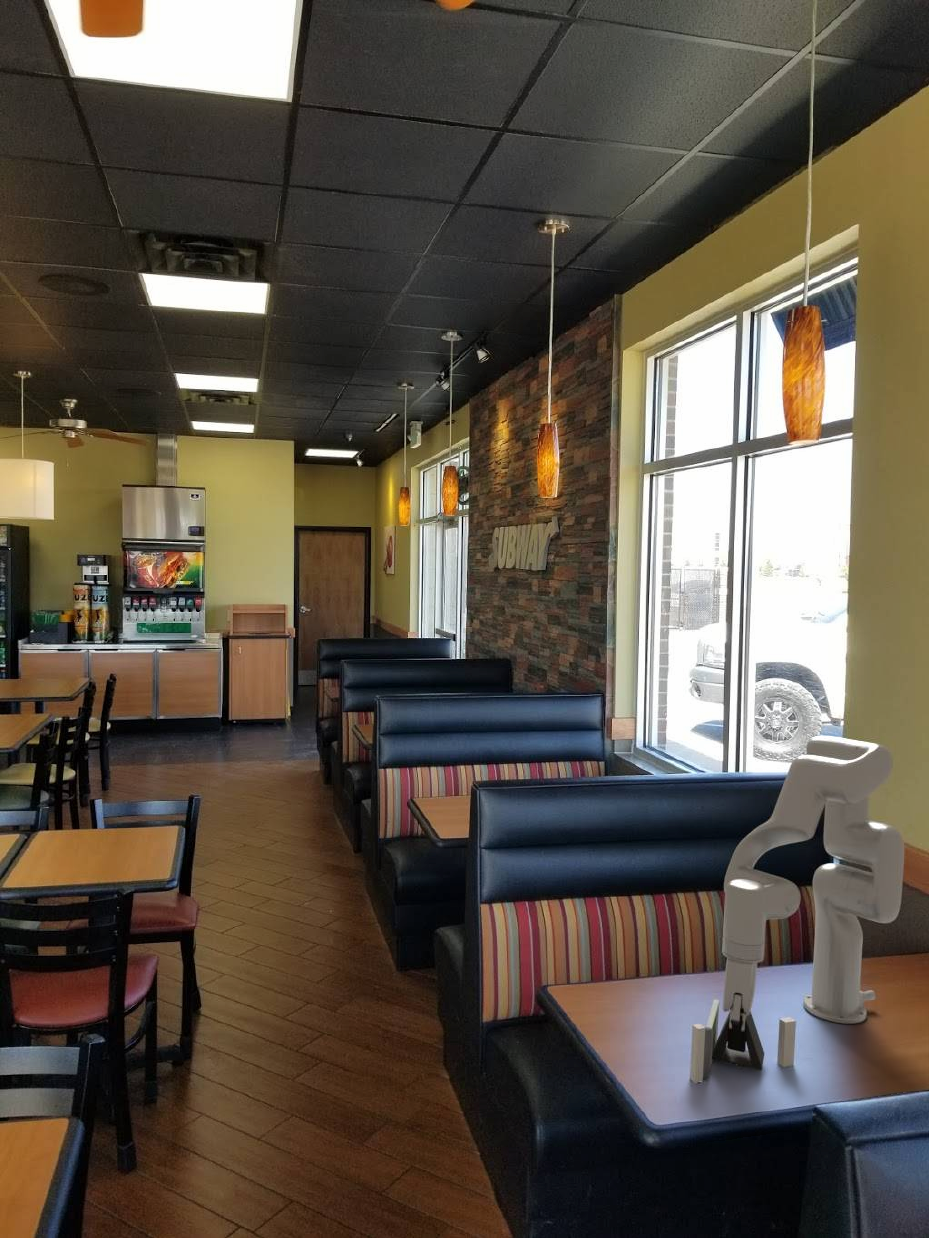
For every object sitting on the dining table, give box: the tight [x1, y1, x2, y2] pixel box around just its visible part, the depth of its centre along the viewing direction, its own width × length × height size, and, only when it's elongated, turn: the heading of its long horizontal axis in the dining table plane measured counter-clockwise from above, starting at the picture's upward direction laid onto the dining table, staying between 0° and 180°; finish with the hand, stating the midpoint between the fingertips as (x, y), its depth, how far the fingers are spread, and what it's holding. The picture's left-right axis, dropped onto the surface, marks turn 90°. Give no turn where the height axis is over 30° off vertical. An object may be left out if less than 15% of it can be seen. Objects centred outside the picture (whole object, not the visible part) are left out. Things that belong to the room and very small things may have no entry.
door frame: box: [689, 1016, 797, 1084], centre depth 165 cm, size 22×2×10 cm, turn 111°
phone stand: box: [712, 1008, 765, 1071], centre depth 168 cm, size 9×6×12 cm, turn 67°
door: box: [703, 999, 720, 1080], centre depth 169 cm, size 16×1×9 cm, turn 158°
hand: (738, 1040), depth 168 cm, fingers closed on phone stand, 6 cm apart
